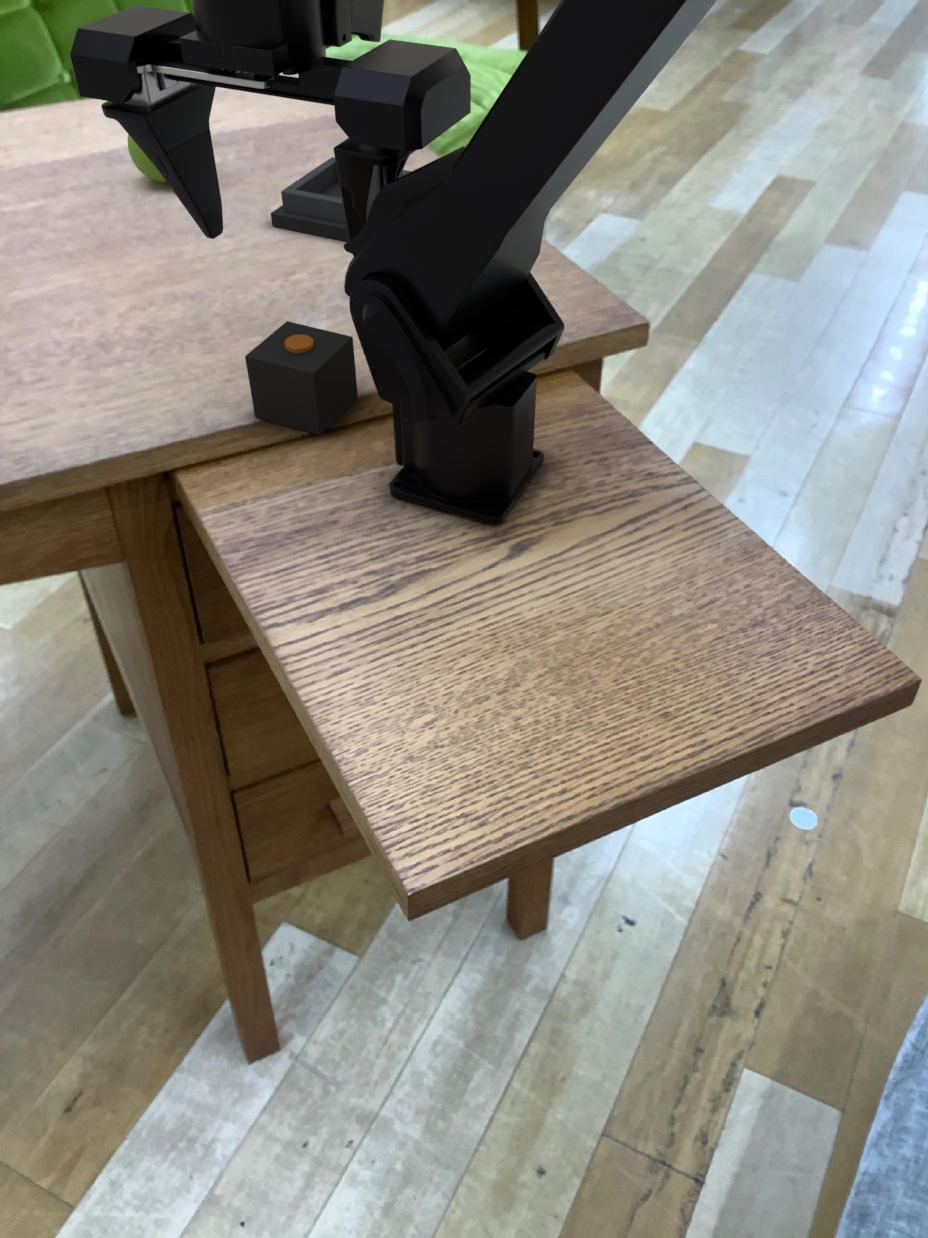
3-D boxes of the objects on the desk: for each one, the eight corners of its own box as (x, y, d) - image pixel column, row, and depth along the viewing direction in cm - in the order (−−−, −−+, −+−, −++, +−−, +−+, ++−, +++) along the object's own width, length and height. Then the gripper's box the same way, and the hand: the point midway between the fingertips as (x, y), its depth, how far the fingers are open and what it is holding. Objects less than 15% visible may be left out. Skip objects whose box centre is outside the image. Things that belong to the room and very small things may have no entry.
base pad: (430, 202, 82) (429, 169, 80) (376, 247, 76) (373, 213, 75) (331, 183, 85) (328, 151, 83) (272, 225, 79) (267, 192, 77)
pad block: (358, 397, 62) (352, 331, 59) (320, 435, 59) (312, 368, 56) (294, 380, 63) (286, 315, 60) (254, 417, 60) (243, 351, 57)
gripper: (522, -125, 46) (512, 223, 57) (175, -152, 52) (227, 169, 62) (408, -76, 39) (421, 312, 49) (18, -113, 44) (107, 242, 55)
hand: (288, 250), depth 54 cm, fingers open, 9 cm apart
